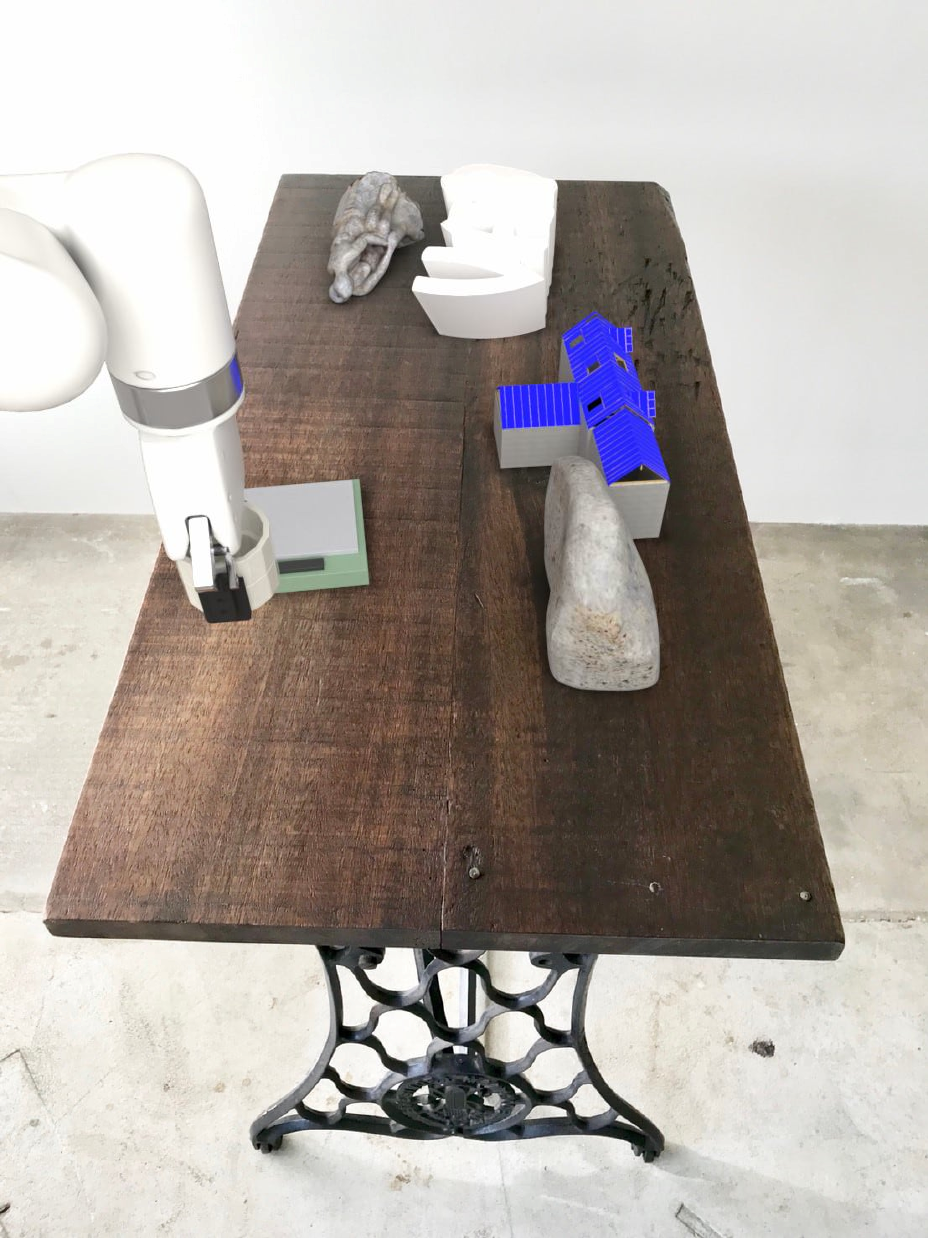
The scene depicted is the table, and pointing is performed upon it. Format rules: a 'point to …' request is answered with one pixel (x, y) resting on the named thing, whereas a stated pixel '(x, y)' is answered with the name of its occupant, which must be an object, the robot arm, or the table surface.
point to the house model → (591, 422)
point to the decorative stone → (595, 587)
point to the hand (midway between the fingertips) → (232, 578)
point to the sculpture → (370, 233)
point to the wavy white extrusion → (491, 254)
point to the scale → (315, 533)
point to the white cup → (244, 561)
